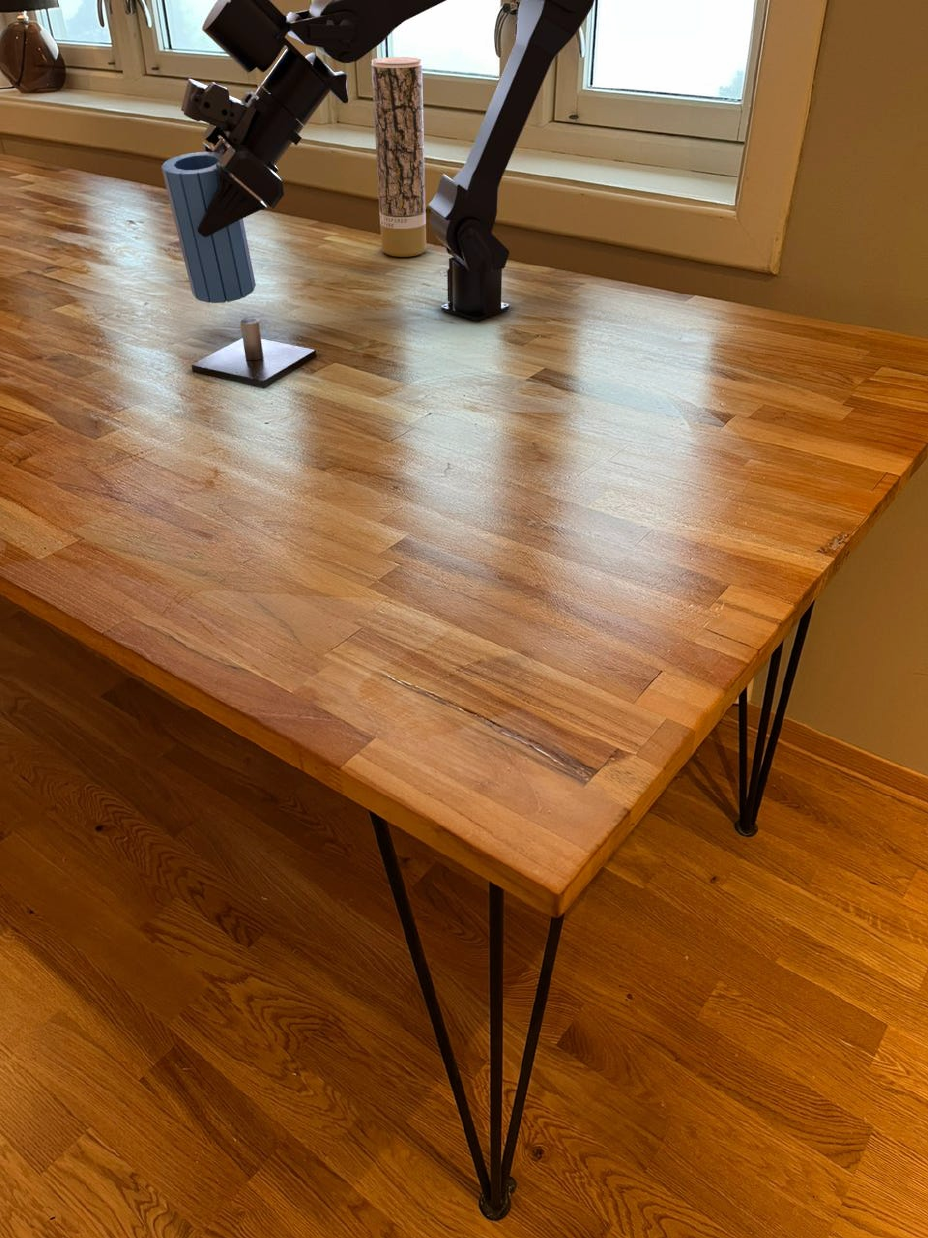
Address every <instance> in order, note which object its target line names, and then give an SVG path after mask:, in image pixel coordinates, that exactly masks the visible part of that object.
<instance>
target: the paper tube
mask: <svg viewBox="0 0 928 1238" xmlns="http://www.w3.org/2000/svg"><path fill="white" fill-rule="evenodd" d="M371 78H372V81H371V82H372V99H373V119H374V134H375V152H376V155H375V156H376V172H377V173H376V174H377V175H376V176H377V191H378V210H379V225H380V242H381V245H380V246H381V250H382V252H383V253H384V254H386V255H388V256H391V257H396V258H406V257H407V258H408V257H409V258H410V257H416V256H419V255H422V254H423V253H424V252H425V251H426V249H427V212H426V209H427V208H426V207H427V206H426V176H425V175H426V173H425V171H426V169H425V137H424V136H425V135H424V99H423V98H424V96H423V95H424V94H423V93H424V92H423V90H424V89H423V63H422V59H421V58H416V57H406V56H392V57H391V56H389V57H378V58H374V59H371Z"/></svg>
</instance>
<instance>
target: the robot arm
mask: <svg viewBox="0 0 928 1238" xmlns="http://www.w3.org/2000/svg"><path fill="white" fill-rule="evenodd" d="M595 1H596V0H520V2H519V6H518V11H517V25H516V38H515V42H514V45H513V48H512V50H511V52H510V54H509V57H508V60H507V61H506V64H505V67H504V69H503V72H502V73H501V76H500V79H499V81H498V83H497V86H496V89H495V91H494V94H493V95H492V98H491V101H490V103H489V106H488V108H487V111H486V112H485V115H484V118H483V120H482V122H481V125H480V127H479V130H478V132H477V134H476V137H475V139H474V142H473V144H472V147H471V149H470V151H469V153H468V156H467V159H466V161H465V163H464V165H463V167H462V168H461V169H460V170H459V171H458V173H456V174H455V175H454V177H453V178H450V177H449V176H448V175H446V174H445V173H443V174H441V176H440V179H439V181H438V186H437V190H436V193H435V195H434V197H433V199H432V200H430V202H429V203H428V205H427V206H428V208H429V209H430V210H431V212H430V215H429V225H430V228H431V231H432V234H433V235H434V237H435V238H436V239H437V240H438V241H439V242H441V244H443V245H444V248H445V250H446V253H447V254H448V255H450V256H452V257H449V258H448V269H447V271H446V273H447V274H446V278H447V281H446V282H447V283H446V284H447V286H446V287H447V302H448V303H445V304H443V305H441V306H440V310H441V311H442V312H446V313H450V314H452V315H455V316H459V317H462V318H465V319H468V320H471V321H475V322H479V321H483V320H485V319H487V318H490V317H491V316H495V315H497V314H500V313H502V312H504V311H507V310H509V309H510V304H508V303H506V302H502V287H503V286H502V284H503V283H502V281H503V269H505V268H506V264H507V262H508V259H509V256H510V250H509V249H508V247H506V246H505V245H504V244H503V243H502V242H501V241H500V240H499V239H498V238H497V237H496V236H495V235H494V234H493V230H494V227H495V223H496V219H497V215H498V204H499V189H500V183H501V181H502V179H503V176H504V174H505V171H506V170H507V167H508V166H509V162H510V160H511V158H512V156H513V153H514V151H515V149H516V147H517V144H518V142H519V139H520V137H521V134H522V132H523V130H524V128H525V125H526V123H527V121H528V119H529V117H530V114H531V111H532V109H533V107H534V105H535V103H536V100H537V98H538V96H539V93H540V91H541V88H542V87H543V84H544V81H545V79H546V77H547V75H548V73H549V70H550V68H551V65H552V63H553V62H554V60H555V58H556V57H557V56H558V54H559V53H560V52H561V51H563V49H564V48H566V47H567V45H568V43H570V41H571V40H573V38H574V37H575V36H576V35H577V33H578V32H579V29H580V28H581V26H582V25H583V23H584V22H585V20H586V18H587V17H588V15H589V14H590V12H591V11H592V9H593V6H594V5H595V4H594V3H595ZM444 2H447V0H314V1H313V2H312V3H311V5H310V6H309V9H305V10H300V11H296V12H293V11H289V13H287V14H286V13H285V14H283V13H282V11H280V9H279V8H278V7H277V6H276V5H275V4H274V3H273V2H272V1H271V0H217V1H216V2H215V3H214V5H213V7H212V8H211V9H210V11H209V13H208V14H207V16H206V18H205V20H204V22H203V25H202V27H201V30H202V32H204V33H205V34H206V35H207V36H208V37H209V38H210V39H211V40H212V41H213V42H214V43H215V44H216V45H217V46H218V47H219V48H221V50H223V51H224V53H226V54H227V56H229V57H230V58H231V59H232V60H233V61H234V62H235V63H236V64H238V65H239V67H241V69H243V71H245V72H246V73H247V74H250V73H251V72H253V71H254V70H255V69H257V70H258V71H259V72H261V73H265V72H266V71H267V70H269V69H270V67H271V66H272V65H273V64H274V62H275V61H276V60H277V58H278V57H279V55H280V53H281V52H282V51H283V49H284V48H285V50H284V52H283V53H282V55H281V56H280V57H279V59H278V60H277V62H276V63H275V65H274V66H273V68H272V69H271V71H270V72H269V73H268V75H267V76H266V77H265V79H264V80H263V81H262V83H261V85H259V87H258V88H257V90H256V91H255V92H253V91H252V90H251V91H250V92H249V91H247V92H245V94H244V95H243V97H242V98H241V99H239V98H236V97H233V96H231V95H230V91H229V89H228V88H227V87H226V86H222V85H219V84H217V83H216V82H214V81H211V82H210V83H209V84H208V85H206V84H204V83H201V82H199V81H197V80H194V79H192V78H188V79H187V84H186V87H185V92H184V95H183V100H182V104H181V107H180V111H181V112H183V115H184V116H186V117H187V118H189V119H191V120H194V121H196V122H203V123H206V124H209V125H208V126H207V128H206V129H205V130H204V132H203V134H202V137H203V138H204V140H205V141H206V142H208V143H209V144H210V143H211V145H210V146H209V145H208V144H207V143H205V142H204V141H202V148H203V152H211V153H212V152H216V153H222V154H224V156H223V158H222V160H221V163H222V165H223V166H224V167H225V168H226V169H227V170H228V171H229V172H230V173H229V172H228V171H226V170H225V169H224V168H223V167H222V166H221V165H219V164H218V163H216V168H217V174H218V181H219V185H218V188H217V190H216V192H215V194H214V196H213V198H212V200H211V202H210V204H209V206H208V208H207V210H206V212H205V214H204V216H203V218H202V220H201V223H200V225H199V227H198V229H197V231H198V233H199V234H201V235H202V236H203V237H208V236H210V235H212V234H214V233H216V232H217V231H219V230H221V229H223V228H225V227H227V226H229V225H231V224H233V223H235V222H237V221H239V220H241V219H243V220H244V219H245V218H247V217H249V216H252V215H253V214H255V213H258V212H260V211H261V210H262V211H264V210H266V209H267V208H268V206H269V207H270V208H271V209H273V210H274V209H275V208H276V207H277V205H278V204H279V202H280V201H281V200H282V198H283V197H284V196H285V191H284V190H285V189H284V182H283V180H282V179H281V178H280V176H279V175H278V174H277V173H278V172H279V169H280V168H278V167H277V166H276V165H277V164H278V163H279V162H280V160H281V159H282V157H283V156H284V154H285V153H286V152H287V151H288V149H289V148H290V146H292V143H293V145H295V146H297V145H298V144H299V143H300V141H301V140H302V138H303V137H301V135H300V133H301V131H302V130H303V129H304V128H305V126H306V124H307V123H308V122H309V121H310V119H311V118H312V116H313V115H314V114H315V112H316V111H317V109H318V108H319V107H320V106H321V104H322V103H323V101H325V99H326V97H327V96H328V95H329V93H330V94H331V95H332V96H333V97H335V99H337V100H338V101H340V102H341V103H343V104H348V103H349V100H350V98H349V94H348V83H347V82H348V75H347V74H346V73H345V72H343V71H341V70H340V71H335V72H334V71H333V70H332V69H331V68H330V67H329V66H328V65H327V64H326V63H325V61H323V60H322V59H321V57H319V56H318V55H317V54H316V52H311V53H308V54H307V55H306V56H304V55H303V54H302V53H301V52H300V51H299V50H298V49H297V48H296V47H295V46H294V44H293V43H291V41H290V40H289V39H288V38H287V37H286V36H287V35H288V36H289V37H290V38H292V39H294V40H297V41H298V42H300V43H302V44H304V45H307V46H312V47H315V49H317V50H318V52H319V53H321V54H322V55H324V56H326V57H328V58H330V59H333V60H334V61H336V62H339V63H342V64H351V63H355V62H358V61H359V60H361V59H362V58H364V57H365V56H366V55H367V54H369V53H370V52H371V51H373V50H374V49H375V48H376V47H378V46H379V45H380V44H382V43H383V42H384V41H385V40H386V39H387V38H388V37H389V36H390V34H392V33H393V32H394V30H396V29H397V28H398V27H399V26H400V25H402V24H404V22H406V21H408V20H410V19H412V18H414V17H416V16H418V15H420V14H422V13H424V12H426V11H428V10H431V9H432V8H435V7H436V6H438V5H440V4H442V3H444Z"/></svg>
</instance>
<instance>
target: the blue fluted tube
mask: <svg viewBox="0 0 928 1238" xmlns="http://www.w3.org/2000/svg"><path fill="white" fill-rule="evenodd" d="M223 156H224V154H222V153H216V152H212V153H211V152H204V151H196V152H190V153H184V154H179V156H178V155H177V156H174V157H171V158H169V159H167V160H166V161H164V163H163V164H162V165H161V171H162V176H163V179H164V183H165V189H166V193H167V195H168V200H169V205H170V208H171V212H172V215H173V221H174V223H175V228H176V233H177V236H178V241H179V245H180V249H181V253H182V257H183V261H184V265H185V270H186V274H187V278H188V281H189V287H190V289H191V292H192V293H191V294H192V295H193V297H194V298H195V300H198V301H200V302H204V303H208V304H210V303H211V304H223V303H226V302H227V303H231V302H234V301H238V300H241V299H244V298H247V296H249V295H251V294H252V293H253V292H254V291H255V288H256V286H257V283H256V279H255V274H254V269H253V263H252V258H251V254H250V248H249V243H248V237H247V233H246V227H245V222H244V218H243V219H241V220H239V221H237V222H235V223H233V224H231V225H229V226H227V227H225V228H223V229H221V230H219V231H217V232H216V233H214V234H212V235H210V236H208V237H203V236H202V235H201V234H199V233H198V231H197V229H198V227H199V225H200V223H201V220H202V218H203V216H204V214H205V212H206V210H207V208H208V206H209V204H210V202H211V200H212V198H213V196H214V194H215V192H216V190H217V188H218V185H219V181H218V174H217V168H216V163H218V164H219V165H221V166H222V167H223V168H224V169H225V170H226V171H228V170H227V169H226V168H225V167H224V166H223V165H222V163H221V160H222V158H223ZM228 172H229V171H228ZM229 173H230V172H229Z"/></svg>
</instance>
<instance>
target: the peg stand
mask: <svg viewBox="0 0 928 1238" xmlns="http://www.w3.org/2000/svg"><path fill="white" fill-rule="evenodd" d="M259 322H260V321H259V319H257V318H254V317H246V318H243V319H241V320H240V321H239V323H240V331H241V338H240V339H238V340H236V341H234V342H232V343H230V344H228V345H227V346H224V347H223V348H221V349H219V350H217V351H215V352H213V353H211V354H210V355H208V356H205V357H204V358H202V359H200V360H198V361H196V362H194V363H193V364H191V365H190V366H191V371H192V372H193V373H197V374H201V375H206V376H210V377H215V378H219V379H223V380H228V381H231V382H232V381H233V382H237V383H241V384H245V385H250V386H254V387H260V388H263V389H265V388H267V387H269V386H270V385H271V384H274V383H275V382H277V381H279V380H280V379H282V378H283V377H285V376H286V375H289V374H291V372H293V371H295V370H297V369H299V368H300V367H302V366H303V365H304V364H307V363H308V362H310V361H312V360H313V359H315V358H316V357H317V350H316V349H314V348H313V349H312V348H308V347H303V346H298V345H293V344H289V343H284V342H279V341H273V340H268V339H262V337H261V329H260V323H259Z"/></svg>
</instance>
